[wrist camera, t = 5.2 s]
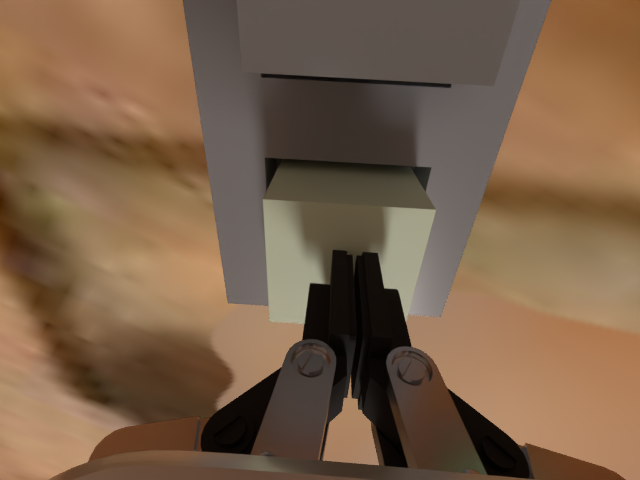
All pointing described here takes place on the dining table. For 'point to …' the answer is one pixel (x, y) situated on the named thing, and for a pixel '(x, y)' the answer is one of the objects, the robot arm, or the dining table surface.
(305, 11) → the button blue
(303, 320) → the button sage
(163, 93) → the dining table surface
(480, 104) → the console
